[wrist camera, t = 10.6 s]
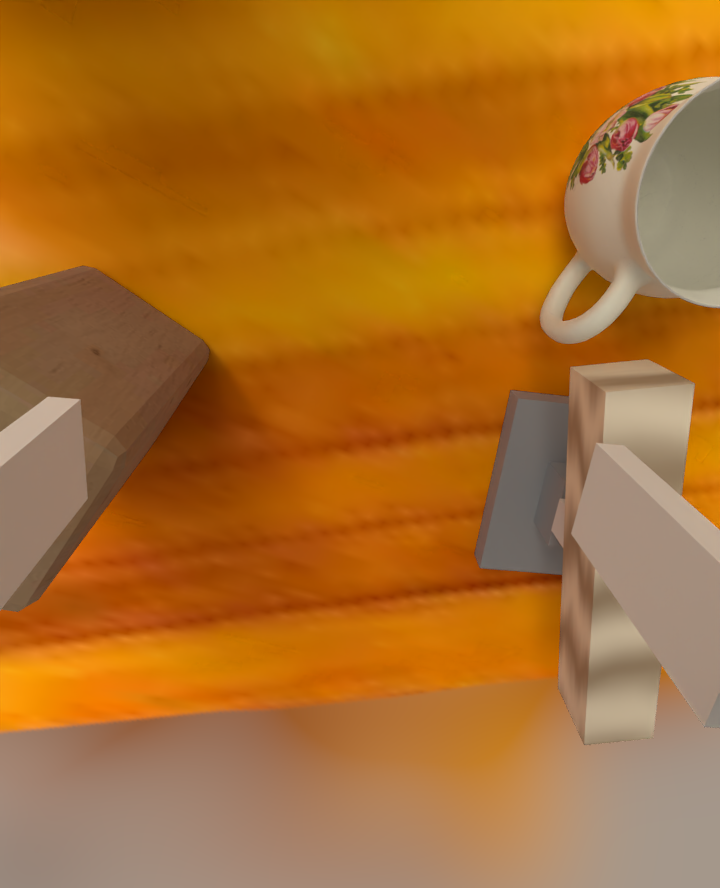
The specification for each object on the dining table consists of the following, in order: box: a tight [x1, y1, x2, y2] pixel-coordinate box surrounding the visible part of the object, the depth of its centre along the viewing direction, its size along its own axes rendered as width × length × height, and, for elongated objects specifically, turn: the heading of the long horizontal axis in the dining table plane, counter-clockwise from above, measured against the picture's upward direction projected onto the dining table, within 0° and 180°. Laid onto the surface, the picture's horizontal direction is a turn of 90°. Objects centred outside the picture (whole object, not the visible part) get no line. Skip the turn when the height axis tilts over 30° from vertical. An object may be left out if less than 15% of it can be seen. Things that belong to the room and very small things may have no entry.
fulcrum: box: [475, 390, 569, 575], centre depth 44 cm, size 14×10×8 cm
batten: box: [558, 359, 695, 745], centre depth 38 cm, size 24×4×5 cm, turn 5°
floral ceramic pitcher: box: [540, 77, 720, 344], centre depth 34 cm, size 11×18×14 cm, turn 141°
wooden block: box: [0, 266, 210, 612], centre depth 34 cm, size 10×10×20 cm
